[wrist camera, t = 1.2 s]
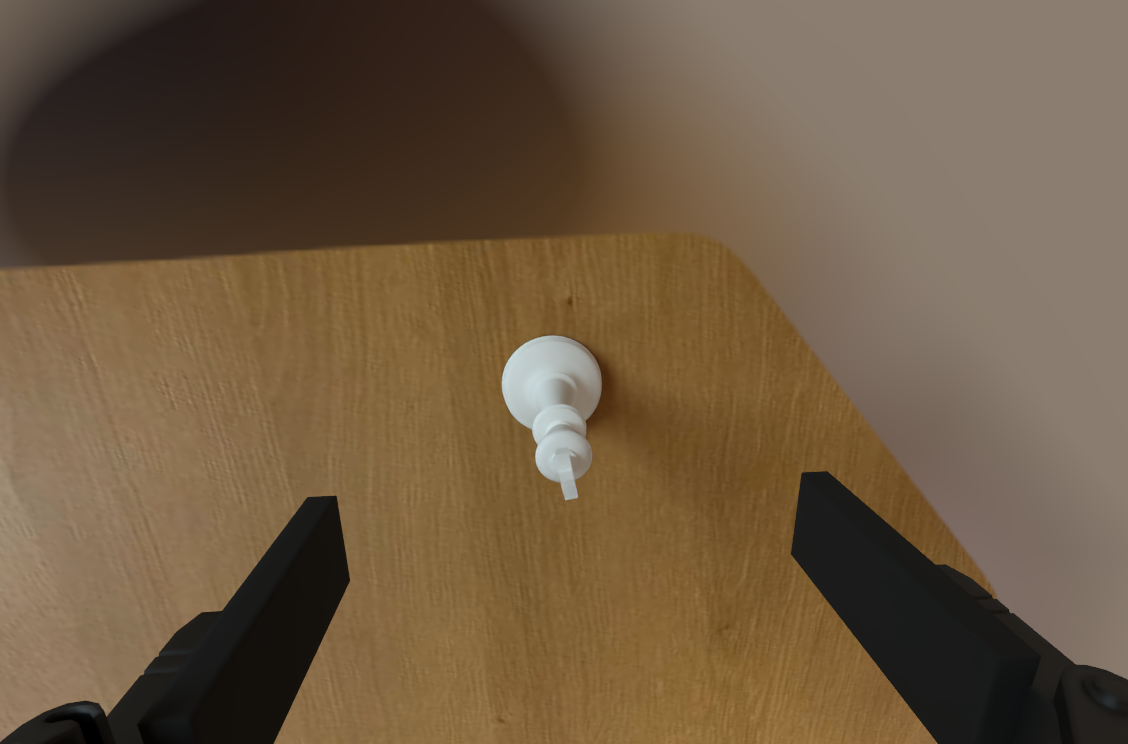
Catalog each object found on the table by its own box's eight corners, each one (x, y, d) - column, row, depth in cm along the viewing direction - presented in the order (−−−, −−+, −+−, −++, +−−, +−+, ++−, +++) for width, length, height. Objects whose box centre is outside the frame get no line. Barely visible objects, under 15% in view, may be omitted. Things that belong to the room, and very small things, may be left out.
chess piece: (592, 326, 25) (633, 398, 16) (608, 418, 27) (655, 536, 17) (491, 346, 25) (472, 432, 16) (514, 438, 27) (508, 566, 17)
